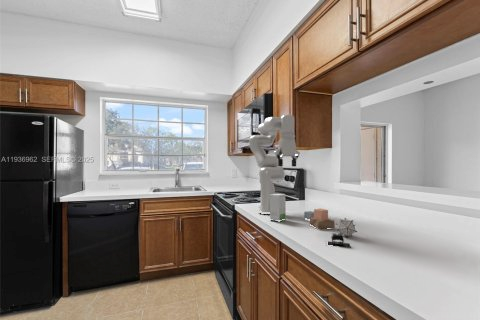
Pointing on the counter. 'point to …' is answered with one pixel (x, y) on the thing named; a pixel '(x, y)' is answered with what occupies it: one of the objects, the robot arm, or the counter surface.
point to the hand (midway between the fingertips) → (287, 166)
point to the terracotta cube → (321, 214)
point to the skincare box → (277, 206)
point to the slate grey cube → (309, 214)
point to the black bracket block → (340, 244)
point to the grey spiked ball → (346, 227)
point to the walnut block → (322, 223)
